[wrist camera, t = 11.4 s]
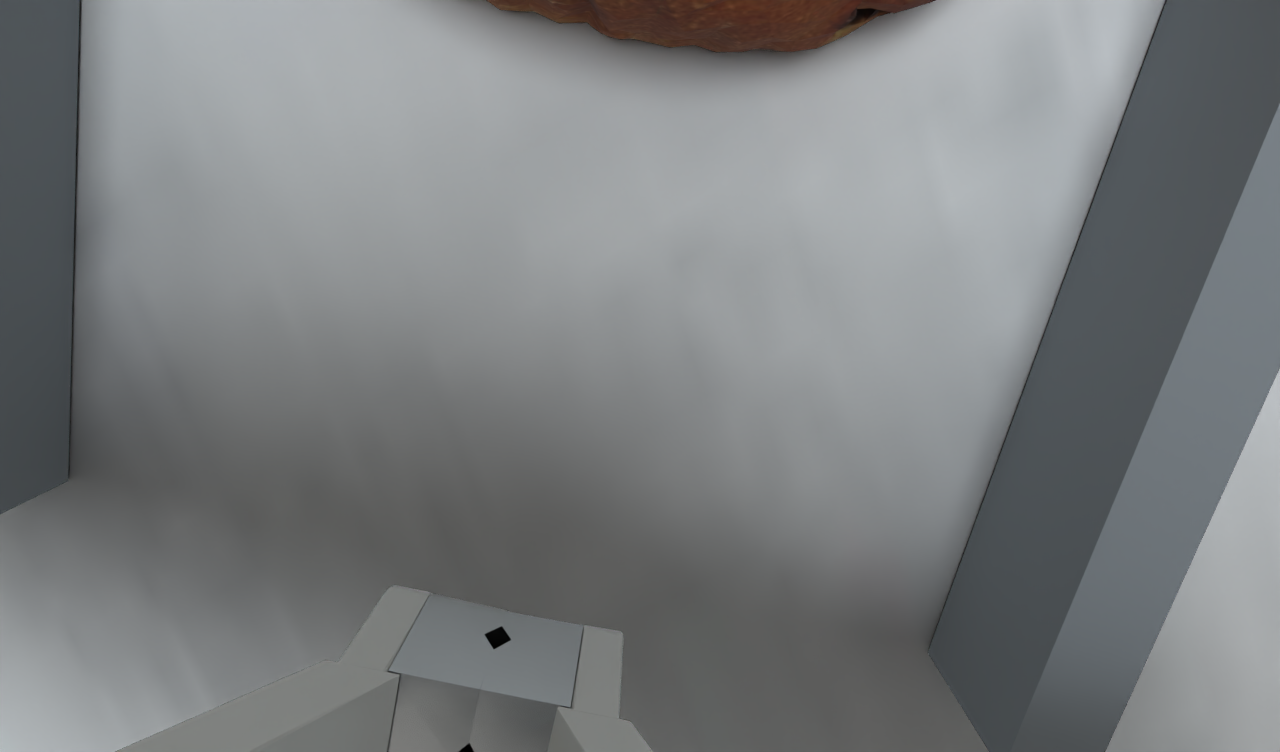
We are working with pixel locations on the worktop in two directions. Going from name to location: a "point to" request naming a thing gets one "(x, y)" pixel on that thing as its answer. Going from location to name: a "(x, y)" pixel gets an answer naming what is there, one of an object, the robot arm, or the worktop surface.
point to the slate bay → (1044, 420)
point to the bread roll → (718, 20)
